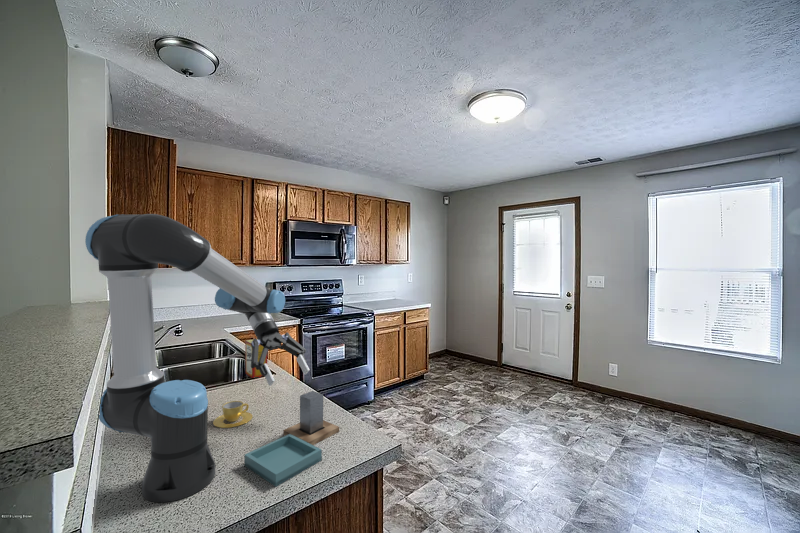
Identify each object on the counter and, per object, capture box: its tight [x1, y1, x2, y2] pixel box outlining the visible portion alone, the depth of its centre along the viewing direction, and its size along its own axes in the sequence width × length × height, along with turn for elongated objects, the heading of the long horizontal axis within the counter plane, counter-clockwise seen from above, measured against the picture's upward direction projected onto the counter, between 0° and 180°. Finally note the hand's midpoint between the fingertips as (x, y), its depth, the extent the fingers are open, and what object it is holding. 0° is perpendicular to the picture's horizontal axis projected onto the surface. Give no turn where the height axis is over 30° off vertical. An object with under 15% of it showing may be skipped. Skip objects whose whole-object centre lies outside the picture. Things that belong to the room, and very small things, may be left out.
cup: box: [212, 400, 254, 429], centre depth 120 cm, size 12×12×5 cm
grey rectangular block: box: [299, 390, 324, 435], centre depth 111 cm, size 5×5×12 cm
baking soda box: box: [244, 338, 268, 379], centre depth 165 cm, size 10×6×16 cm
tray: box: [243, 434, 323, 488], centre depth 95 cm, size 14×14×3 cm
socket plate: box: [282, 419, 340, 446], centre depth 111 cm, size 12×12×2 cm
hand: (290, 377), depth 117 cm, fingers open, 13 cm apart
